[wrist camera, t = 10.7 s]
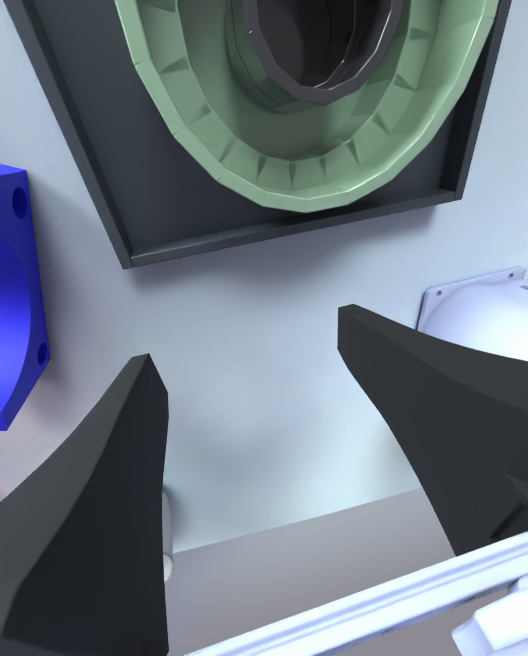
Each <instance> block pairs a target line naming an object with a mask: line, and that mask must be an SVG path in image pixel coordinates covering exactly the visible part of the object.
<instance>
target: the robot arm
mask: <svg viewBox="0 0 528 656" xmlns="http://www.w3.org/2000/svg"><path fill="white" fill-rule="evenodd" d="M525 272H526V269H525V268H523V267H517V268H513V269H508V270H504V271H500V272H496V273H492V274H488V275H484V276H479V277H475V278H471V279H467V280H463V281H459V282H455V283H451V284H446V285H442V286H438V287H434V288H431V289H429V290H427V292H426V293H425V297H424V302H423V306H422V311H421V315H420V320H419V324H418V329H417V330H414V329H412V328H409V327H407V326H404V325H402V324H400V323H397V322H395V321H393V320H390V319H388V318H386V317H383V316H381V315H379V314H377V313H374V312H372V311H370V310H367V309H365V308H363V307H360V306H358V305H355V304H351V305H347V306H343V307H339V308H338V347H337V349H338V351H339V353H340V355H341V357H342V358H343V360H344V362H345V364H346V366H347V368H348V369H349V371H350V372H351V374H352V375H353V377H354V378H355V379H356V381H357V382H358V383H359V385H360V386H361V388H362V389H363V390H364V392H365V393H366V394H367V396H368V397H369V399H370V400H371V401H372V403H373V404H374V405H375V407H376V408H377V409H378V411H379V412H380V414H381V415H382V417H383V418H384V420H385V421H386V423H387V424H388V426H389V427H390V429H391V431H392V433H393V434H394V436H395V438H396V439H397V441H398V443H399V445H400V446H401V448H402V450H403V452H404V453H405V455H406V457H407V459H408V461H409V463H410V464H411V466H412V468H413V470H414V472H415V473H416V475H417V477H418V479H419V481H420V483H421V485H422V487H423V489H424V491H425V493H426V495H427V497H428V498H429V501H430V502H431V505H432V507H433V509H434V511H435V513H436V515H437V517H438V519H439V521H440V523H441V525H442V527H443V529H444V532H445V534H446V535H447V538H448V540H449V542H450V544H451V546H452V549H453V551H454V553H455V555H456V557H455V558H452V559H449V560H446V561H444V562H441V563H438V564H435V565H433V566H430V567H427V568H424V569H422V570H419V571H416V572H413V573H411V574H408V575H405V576H402V577H399V578H397V579H394V580H392V581H388V582H386V583H383V584H380V585H377V586H374V587H372V588H369V589H366V590H363V591H361V592H358V593H355V594H353V595H350V596H347V597H344V598H341V599H339V600H336V601H333V602H330V603H327V604H325V605H322V606H319V607H316V608H314V609H311V610H308V611H305V612H303V613H300V614H297V615H294V616H292V617H289V618H286V619H284V620H281V621H278V622H275V623H272V624H269V625H267V626H264V627H261V628H258V629H256V630H253V631H250V632H247V633H245V634H242V635H239V636H236V637H234V638H231V639H228V640H225V641H222V642H220V643H217V644H214V645H211V646H209V647H206V648H203V649H200V650H198V651H195V652H192V653H189V654H187V655H184V656H331V655H333V654H336V653H339V652H341V651H344V650H346V649H349V648H352V647H354V646H357V645H359V644H362V643H365V642H367V641H370V640H373V639H375V638H378V637H380V636H383V635H386V634H388V633H391V632H393V631H396V630H398V629H401V628H404V627H406V626H409V625H412V624H414V623H417V622H419V621H422V620H425V619H427V618H430V617H432V616H435V615H437V614H440V613H443V612H445V611H448V610H450V609H453V608H456V607H458V606H461V605H464V604H466V603H469V602H472V601H474V600H476V599H479V598H482V597H485V596H487V595H490V594H492V593H495V592H498V591H500V590H503V589H505V588H508V587H509V588H508V591H507V596H506V597H504V598H502V599H500V600H497V601H495V602H493V603H491V604H489V605H487V606H485V607H483V608H481V609H479V610H476V611H475V612H474V615H473V616H472V617H471V618H470V619H469V620H468V621H466V622H465V623H464V624H462V625H460V626H459V627H457V628H456V629H454V630H453V631H452V637H453V639H454V641H455V643H456V645H457V647H458V648H459V650H460V652H461V654H462V656H528V281H527V280H525V279H523V277H524V275H525ZM168 420H169V409H168V392H167V390H166V388H165V386H164V384H163V381H162V379H161V377H160V375H159V373H158V371H157V369H156V367H155V365H154V363H153V361H152V358H151V356H150V354H149V353H148V354H143V355H139V356H135V357H132V358H131V359H130V360H129V361H128V363H127V364H126V365H125V367H124V368H123V369H122V371H121V372H120V373H119V375H118V376H117V377H116V379H115V380H114V381H113V383H112V384H111V385H110V387H109V388H108V389H107V391H106V392H105V393H104V395H103V396H102V397H101V399H100V400H99V401H98V402H97V404H96V405H95V406H94V407H93V408H92V410H91V411H90V412H89V413H88V415H87V416H86V417H85V418H84V419H83V421H82V422H81V423H80V424H79V425H78V427H77V428H76V429H75V430H74V431H73V432H72V433H71V434H70V436H69V437H68V438H67V439H66V440H65V441H64V442H63V443H62V444H61V445H60V446H59V447H58V448H57V449H56V450H55V451H54V452H53V453H52V454H51V455H50V457H49V458H48V459H47V460H46V461H45V462H44V463H43V464H41V465H40V466H39V467H38V468H37V469H36V470H35V471H34V472H33V473H32V474H31V475H30V476H29V477H27V478H26V479H25V480H24V481H23V482H22V483H21V484H20V485H19V486H18V487H17V488H16V489H15V490H13V491H12V492H11V493H10V494H9V495H8V496H7V497H6V498H5V499H3V500H2V501H1V502H0V656H167V653H168V651H169V645H168V632H167V618H166V604H165V585H164V563H163V528H162V486H163V472H164V462H165V452H166V442H167V431H168Z"/></svg>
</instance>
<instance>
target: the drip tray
mask: <svg viewBox="0 0 528 656" xmlns="http://www.w3.org/2000/svg"><path fill="white" fill-rule="evenodd" d="M3 1H4V3H5V5H6V8H7V10H8V12H9V14H10V17H11V19H12V21H13V23H14V26H15V28H16V30H17V32H18V35H19V37H20V39H21V41H22V44H23V46H24V48H25V50H26V53H27V55H28V57H29V59H30V62H31V64H32V66H33V68H34V70H35V73H36V75H37V77H38V79H39V82H40V84H41V86H42V88H43V91H44V93H45V95H46V97H47V100H48V102H49V104H50V106H51V109H52V111H53V113H54V115H55V118H56V120H57V122H58V124H59V127H60V129H61V131H62V133H63V135H64V138H65V140H66V142H67V144H68V147H69V149H70V151H71V153H72V156H73V158H74V160H75V162H76V165H77V167H78V169H79V171H80V174H81V176H82V178H83V180H84V183H85V185H86V187H87V189H88V192H89V194H90V196H91V198H92V201H93V203H94V205H95V207H96V209H97V212H98V214H99V216H100V218H101V221H102V223H103V225H104V227H105V230H106V232H107V234H108V236H109V239H110V241H111V243H112V245H113V248H114V250H115V252H116V254H117V257H118V259H119V261H120V263H121V266H122V268H123V269H128V268H133V267H137V266H142V265H147V264H152V263H157V262H162V261H166V260H171V259H176V258H181V257H186V256H191V255H195V254H200V253H205V252H210V251H215V250H220V249H224V248H229V247H234V246H239V245H244V244H249V243H253V242H258V241H263V240H268V239H273V238H278V237H282V236H287V235H292V234H297V233H302V232H307V231H311V230H316V229H321V228H326V227H331V226H336V225H341V224H345V223H350V222H355V221H360V220H365V219H370V218H374V217H379V216H384V215H389V214H394V213H399V212H403V211H408V210H413V209H418V208H423V207H428V206H432V205H437V204H442V203H447V202H452V201H457V200H461V199H462V196H463V192H464V188H465V184H466V180H467V176H468V172H469V168H470V164H471V160H472V156H473V152H474V148H475V144H476V140H477V136H478V132H479V129H480V125H481V121H482V117H483V113H484V109H485V105H486V101H487V97H488V93H489V89H490V85H491V81H492V77H493V73H494V69H495V65H496V61H497V57H498V53H499V49H500V45H501V41H502V37H503V33H504V29H505V25H506V21H507V17H508V13H509V9H510V5H511V1H512V0H499V1H498V6H497V10H496V14H495V17H494V22H493V24H492V26H491V29H490V31H489V33H488V36H487V38H486V41H485V43H484V45H483V48H482V50H481V52H480V55H479V57H478V60H477V62H476V64H475V67H474V69H473V71H472V74H471V76H470V79H469V81H468V83H467V86H466V88H465V90H464V92H463V93H462V95H461V96H460V98H459V99H458V101H457V102H456V104H455V105H454V107H453V108H452V110H451V111H450V113H449V115H448V116H447V118H446V119H445V121H444V122H443V124H442V125H441V127H440V128H439V130H438V131H437V133H436V134H435V136H434V137H433V139H432V140H431V142H430V143H428V145H427V146H426V147H425V148H424V149H423V150H422V151H421V152H420V153H419V154H418V155H417V156H416V157H415V158H414V159H413V160H412V161H411V162H410V163H409V164H407V165H406V166H405V167H404V168H403V169H402V170H401V171H400V172H399V173H398V174H397V175H396V176H395V177H394V178H393V179H392V180H391V181H389V182H388V183H386V184H384V185H383V186H381V187H379V188H377V189H376V190H374V191H372V192H370V193H368V194H367V195H365V196H363V197H361V198H359V199H358V200H356V201H354V202H352V203H350V204H348V205H345V206H339V207H334V208H329V209H324V210H319V211H314V212H309V213H302V212H295V211H289V210H282V209H276V208H269V207H263V206H262V205H261V206H260V205H258V204H256V203H255V202H253V201H251V200H249V199H247V198H245V197H244V196H242V195H240V194H238V193H236V192H234V191H233V190H231V189H229V188H227V187H225V186H223V185H222V184H220V183H218V182H217V181H215V180H214V178H213V177H212V176H211V175H210V174H209V173H208V172H207V171H206V170H205V169H204V168H203V167H202V166H201V165H200V164H199V163H198V162H197V161H196V160H195V159H194V158H193V157H192V156H191V155H190V154H189V153H188V152H187V151H186V149H185V148H184V147H183V146H182V145H181V144H180V143H179V142H178V141H177V140H176V139H175V138H174V136H173V135H172V134H171V132H170V130H169V128H168V126H167V125H166V123H165V121H164V119H163V118H162V116H161V114H160V112H159V110H158V109H157V107H156V105H155V103H154V101H153V100H152V98H151V96H150V94H149V92H148V91H147V89H146V87H145V85H144V84H143V82H142V80H141V78H140V76H139V75H138V73H137V71H136V69H135V66H134V64H133V62H132V58H131V55H130V51H129V48H128V45H127V41H126V38H125V34H124V31H123V28H122V24H121V21H120V17H119V14H118V11H117V7H116V4H115V0H3Z"/></svg>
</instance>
